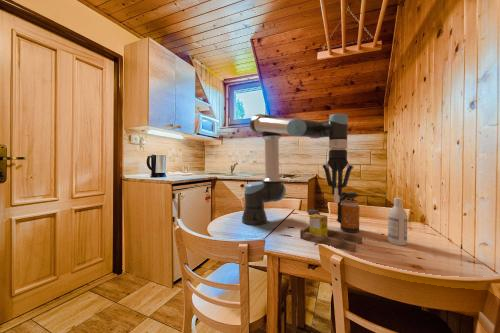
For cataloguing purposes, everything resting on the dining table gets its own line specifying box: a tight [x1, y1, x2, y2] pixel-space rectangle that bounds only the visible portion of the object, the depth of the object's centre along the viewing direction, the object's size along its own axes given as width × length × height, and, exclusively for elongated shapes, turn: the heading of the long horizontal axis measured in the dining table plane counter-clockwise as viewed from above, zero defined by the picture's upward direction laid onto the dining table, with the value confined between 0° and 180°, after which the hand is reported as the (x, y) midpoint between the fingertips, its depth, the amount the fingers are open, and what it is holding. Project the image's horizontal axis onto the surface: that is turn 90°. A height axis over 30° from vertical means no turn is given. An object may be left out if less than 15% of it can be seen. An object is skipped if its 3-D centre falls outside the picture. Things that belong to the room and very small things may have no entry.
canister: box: [336, 191, 361, 233], centre depth 112 cm, size 9×11×20 cm
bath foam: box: [387, 197, 409, 246], centre depth 95 cm, size 7×7×20 cm
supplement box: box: [309, 213, 328, 237], centre depth 101 cm, size 6×6×11 cm
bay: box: [299, 208, 363, 253], centre depth 100 cm, size 26×15×11 cm, turn 50°
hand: (336, 202), depth 96 cm, fingers closed
